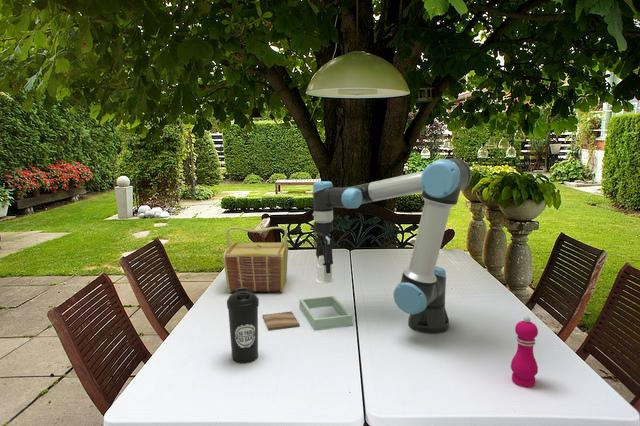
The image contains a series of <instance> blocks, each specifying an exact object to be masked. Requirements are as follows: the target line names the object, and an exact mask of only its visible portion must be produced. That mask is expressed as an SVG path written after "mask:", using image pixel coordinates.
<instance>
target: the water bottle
mask: <svg viewBox="0 0 640 426" xmlns="http://www.w3.org/2000/svg"><path fill="white" fill-rule="evenodd" d="M259 304H260V303H259V297H258V296H257V295H256V294H255V292H249V291H248V289H247V287H241V288H236V292H233V293H232V294H231V295H229V296H228V298H227V300H226V308H227V310H228V322H229V333H230V334H229V335H230V336H229V337H230V347H231V360H232V361H233V362H235V363H237V364H249V363H252V362H254V361H257V359H258V357H259V318H258V317H259V316H258V315H259V310H258V309H259Z"/></svg>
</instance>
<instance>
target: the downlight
mask: <svg viewBox="0 0 640 426" xmlns="http://www.w3.org/2000/svg"><path fill="white" fill-rule="evenodd" d="M323 264H325V263H324V255H321V256H319V264H318V263H317V265H316V270H317V271H316V274H317V275H316V277H317V278H315V282H316V283H319V284H330V283H333V282H334V279H333V264H331V281H324V265H323Z"/></svg>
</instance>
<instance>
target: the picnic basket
mask: <svg viewBox="0 0 640 426" xmlns="http://www.w3.org/2000/svg"><path fill="white" fill-rule="evenodd" d="M231 230H242V231H244V232H246V233H247V232H248V233H256V234H257V233H265V232H269V231H271V230H283V231H284V237H283V238H284V239H283V242H279V241H277V242H275V241H273V242H269V241H268V242H264V241H262V242H259V241H258V242H235V241H233V242H232V243H231V240H230V239H231V238H230V231H231ZM225 234H226V241H227V242H226V243H227V248H226V249H225V251H224V252H223V253H222V254H223V255H222V259H223V260H222V261H223V265H224V274H225V279H226V285H227V290H228V293H230V294H231V293H236V288H241V287H247V289H248V291H249V292H252V293H257V292H260V293H263V292H266V293H267V292H269V293H270V292H271V293H272V292H273V293H274V292H280V293H283V292H284V289H285V286H286V284H287V277H288V276H287V275H288V274H287V273H288V255H289V242H288V230H287V229H286V228H285V227H284V226H270V227H266V228H258V229H257V228H255V229H254V228H249V227H248V228H247V227H241V226H234V227H233V226H231V227H229V228H227V229H226V232H225Z"/></svg>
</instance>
